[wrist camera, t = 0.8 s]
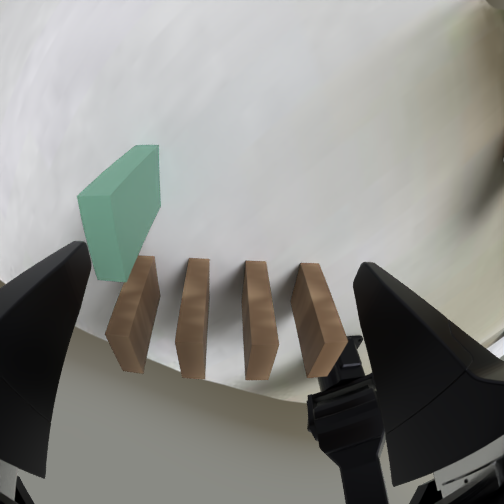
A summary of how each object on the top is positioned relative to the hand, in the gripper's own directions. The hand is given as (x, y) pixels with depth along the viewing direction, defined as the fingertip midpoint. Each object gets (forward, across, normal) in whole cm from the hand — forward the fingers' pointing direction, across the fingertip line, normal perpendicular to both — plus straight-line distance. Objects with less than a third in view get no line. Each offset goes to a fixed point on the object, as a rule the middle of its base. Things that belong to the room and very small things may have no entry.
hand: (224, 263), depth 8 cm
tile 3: (+13, -3, +12) cm, 18 cm away
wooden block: (+13, -8, +12) cm, 19 cm away
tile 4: (+13, +2, +12) cm, 18 cm away
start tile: (+13, +6, +2) cm, 14 cm away
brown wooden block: (+13, +7, +12) cm, 19 cm away
